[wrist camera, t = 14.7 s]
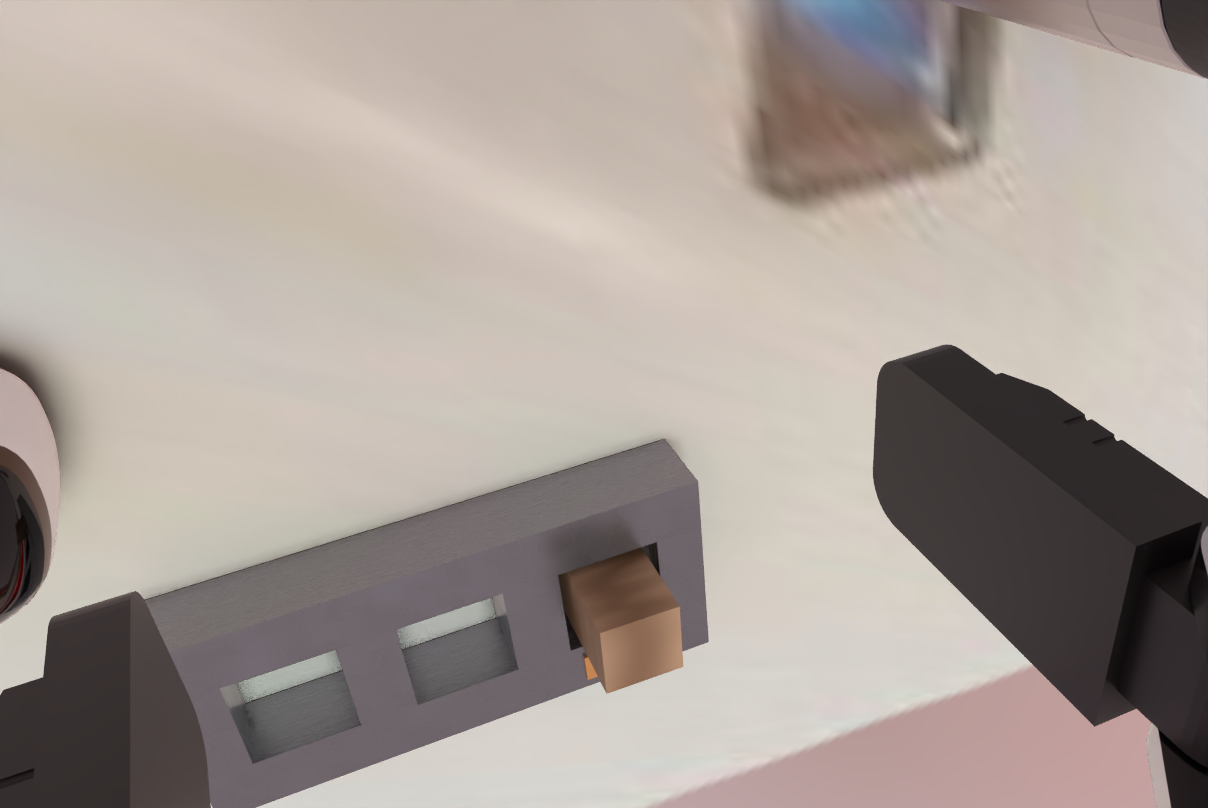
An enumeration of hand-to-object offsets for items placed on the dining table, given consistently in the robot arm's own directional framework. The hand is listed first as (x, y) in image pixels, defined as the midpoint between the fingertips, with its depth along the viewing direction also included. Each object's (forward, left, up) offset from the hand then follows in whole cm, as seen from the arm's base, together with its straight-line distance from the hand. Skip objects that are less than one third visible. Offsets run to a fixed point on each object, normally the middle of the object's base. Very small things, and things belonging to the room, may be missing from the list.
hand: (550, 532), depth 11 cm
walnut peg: (-9, +30, -33) cm, 46 cm away
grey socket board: (-1, +30, -33) cm, 45 cm away
